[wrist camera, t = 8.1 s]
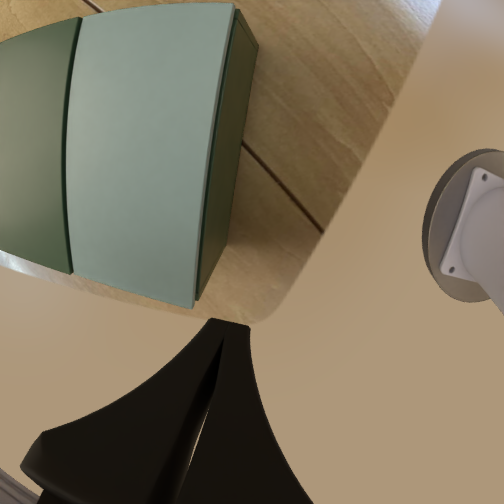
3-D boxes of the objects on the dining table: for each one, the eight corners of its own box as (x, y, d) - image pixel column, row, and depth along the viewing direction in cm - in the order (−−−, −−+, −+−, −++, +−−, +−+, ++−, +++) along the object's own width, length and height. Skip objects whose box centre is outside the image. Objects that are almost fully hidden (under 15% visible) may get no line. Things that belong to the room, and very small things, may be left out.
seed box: (258, 44, 14) (236, 1, 8) (226, 245, 20) (193, 311, 14) (69, 49, 15) (-5, 43, 8) (60, 211, 21) (-2, 249, 14)
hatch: (235, 6, 8) (233, 2, 8) (194, 305, 14) (192, 309, 14) (87, 18, 9) (82, 16, 8) (78, 270, 14) (73, 274, 14)
